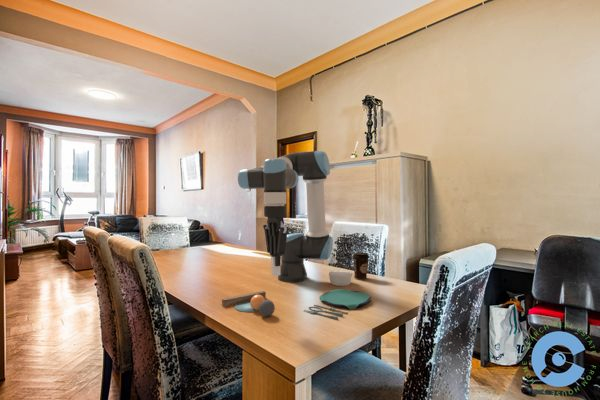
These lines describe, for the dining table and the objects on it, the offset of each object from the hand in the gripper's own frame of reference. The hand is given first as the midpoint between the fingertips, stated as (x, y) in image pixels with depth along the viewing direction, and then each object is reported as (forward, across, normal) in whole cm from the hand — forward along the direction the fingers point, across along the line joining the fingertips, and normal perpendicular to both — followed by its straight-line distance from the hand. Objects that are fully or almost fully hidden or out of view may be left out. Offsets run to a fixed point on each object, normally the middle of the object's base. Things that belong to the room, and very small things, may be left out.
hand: (275, 275), depth 104 cm
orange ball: (+13, +13, 0) cm, 18 cm away
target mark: (+15, +18, 0) cm, 23 cm away
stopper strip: (+16, +24, 0) cm, 29 cm away
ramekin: (+16, +21, -49) cm, 56 cm away
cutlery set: (+16, 0, -28) cm, 33 cm away
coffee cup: (+16, +22, -64) cm, 70 cm away
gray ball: (+13, +5, +1) cm, 14 cm away
